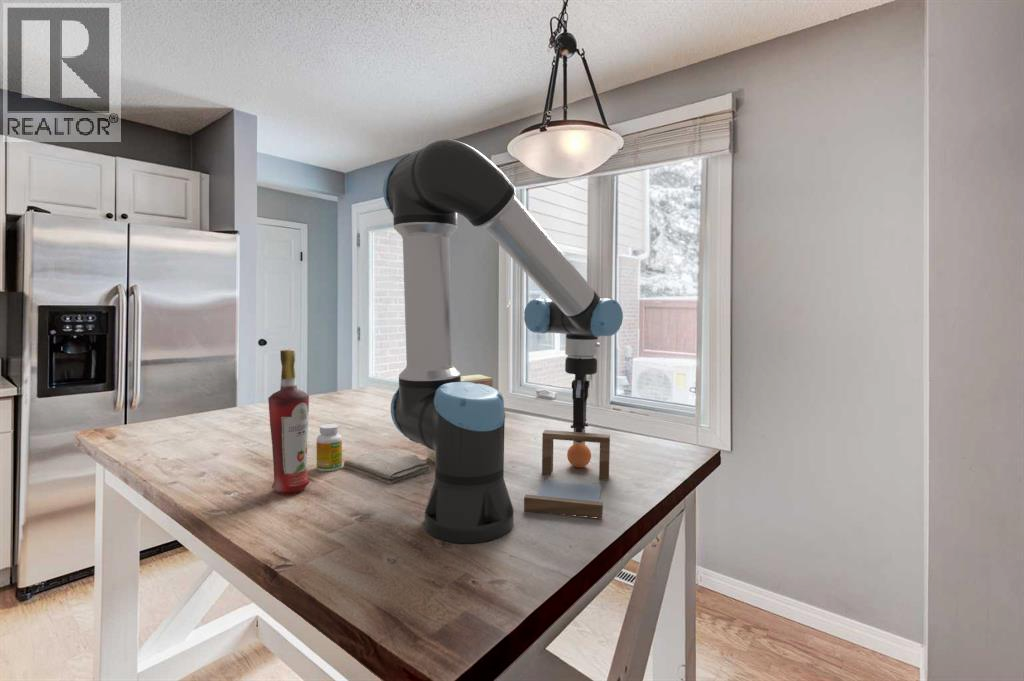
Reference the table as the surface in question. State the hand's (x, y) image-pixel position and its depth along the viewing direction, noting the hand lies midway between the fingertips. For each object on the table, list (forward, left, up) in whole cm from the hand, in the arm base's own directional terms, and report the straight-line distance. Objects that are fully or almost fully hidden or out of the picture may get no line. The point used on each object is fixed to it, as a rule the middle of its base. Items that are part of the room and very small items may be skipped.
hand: (578, 454), depth 119 cm
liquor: (-34, +54, -2) cm, 64 cm away
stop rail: (-31, 0, -2) cm, 31 cm away
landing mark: (-22, 0, -2) cm, 22 cm away
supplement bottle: (-20, +54, -2) cm, 58 cm away
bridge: (-10, 0, -2) cm, 10 cm away
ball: (-5, -1, +1) cm, 5 cm away
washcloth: (-17, +41, -3) cm, 45 cm away
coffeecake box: (-4, +29, -2) cm, 29 cm away
